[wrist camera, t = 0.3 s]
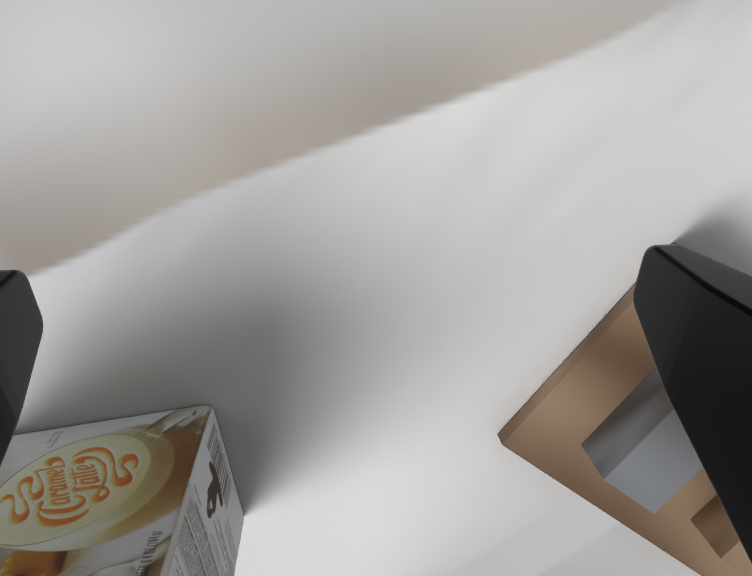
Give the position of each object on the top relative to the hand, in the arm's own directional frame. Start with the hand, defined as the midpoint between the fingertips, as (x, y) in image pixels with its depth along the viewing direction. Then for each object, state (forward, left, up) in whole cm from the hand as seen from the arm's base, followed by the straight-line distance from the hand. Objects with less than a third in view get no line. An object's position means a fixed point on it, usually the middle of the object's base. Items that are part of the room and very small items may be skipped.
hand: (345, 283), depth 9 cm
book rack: (0, -21, -15) cm, 26 cm away
